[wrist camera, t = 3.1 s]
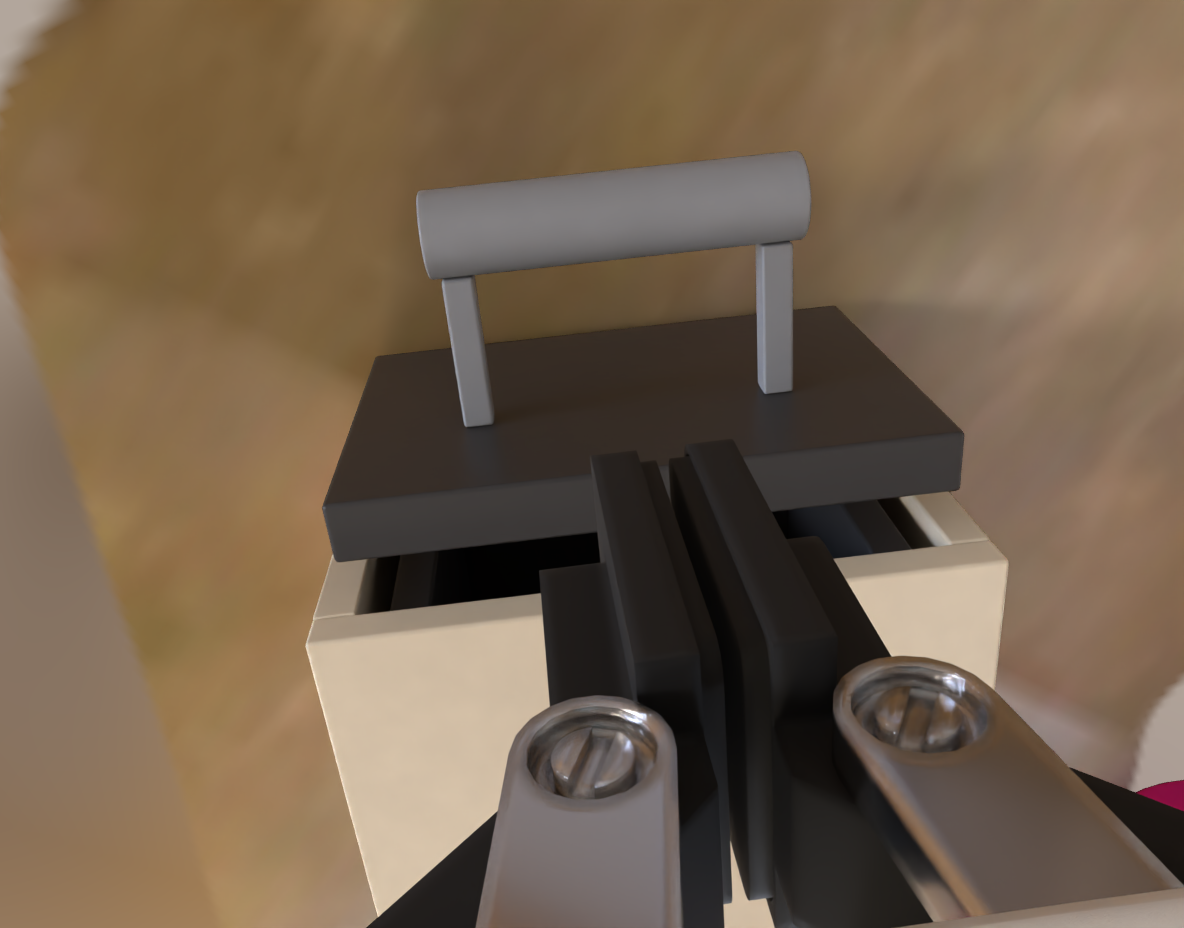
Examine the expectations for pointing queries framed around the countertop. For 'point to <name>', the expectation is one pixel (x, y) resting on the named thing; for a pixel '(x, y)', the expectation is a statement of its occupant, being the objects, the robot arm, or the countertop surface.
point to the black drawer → (621, 388)
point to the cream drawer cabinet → (520, 685)
